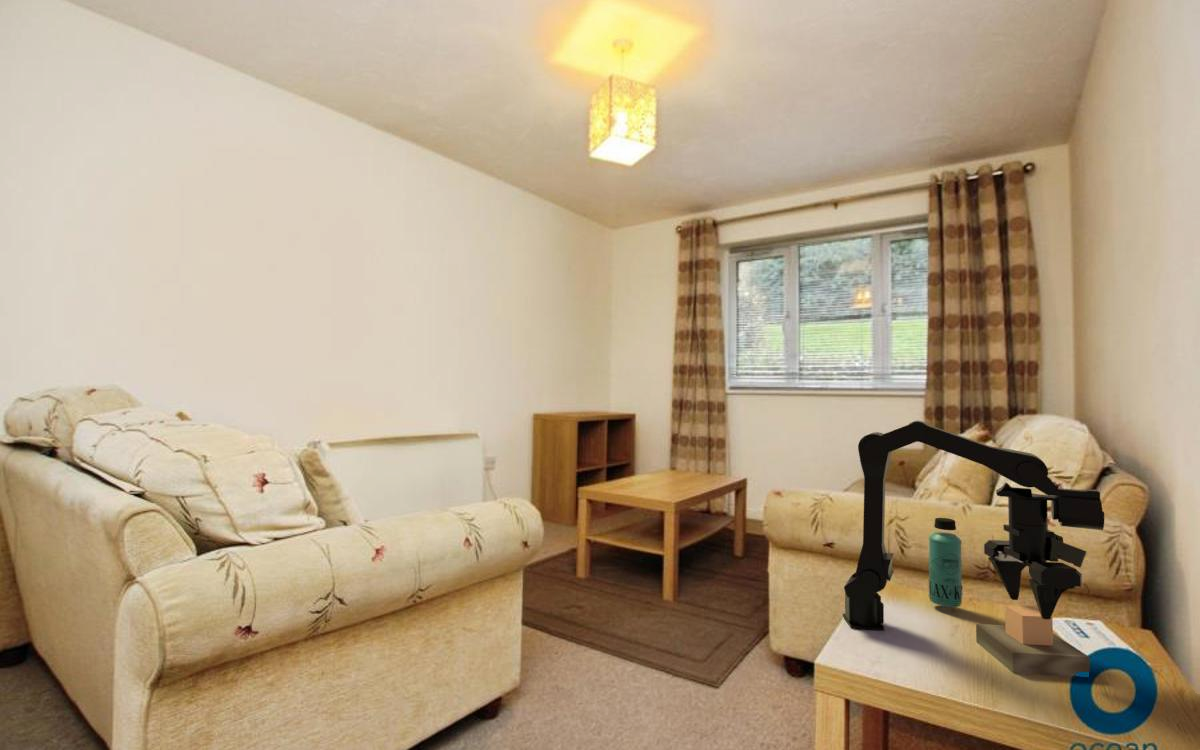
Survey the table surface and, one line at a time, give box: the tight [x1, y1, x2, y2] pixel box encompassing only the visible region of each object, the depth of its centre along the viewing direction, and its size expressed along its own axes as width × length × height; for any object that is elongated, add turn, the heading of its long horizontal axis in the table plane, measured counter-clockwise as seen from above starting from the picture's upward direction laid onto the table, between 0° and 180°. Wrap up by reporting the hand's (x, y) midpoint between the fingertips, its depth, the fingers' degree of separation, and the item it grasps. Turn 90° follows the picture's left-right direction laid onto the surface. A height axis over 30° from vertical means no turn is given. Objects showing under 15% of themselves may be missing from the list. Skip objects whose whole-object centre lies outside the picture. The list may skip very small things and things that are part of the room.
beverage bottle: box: [927, 517, 963, 608], centre depth 126 cm, size 6×7×20 cm
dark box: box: [975, 623, 1091, 678], centre depth 102 cm, size 12×12×4 cm
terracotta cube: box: [1004, 604, 1054, 645], centre depth 103 cm, size 5×5×5 cm
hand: (1029, 608), depth 102 cm, fingers open, 9 cm apart
